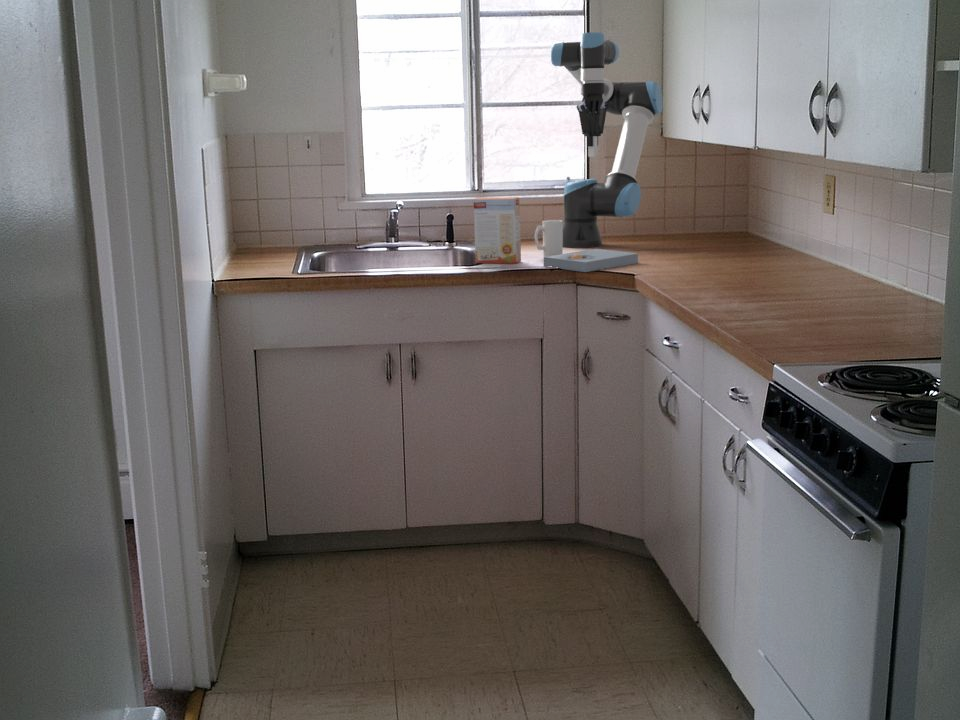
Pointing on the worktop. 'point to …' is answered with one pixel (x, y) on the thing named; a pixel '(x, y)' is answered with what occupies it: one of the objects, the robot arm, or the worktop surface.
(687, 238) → the worktop surface
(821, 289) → the worktop surface
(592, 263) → the tray
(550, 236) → the mug
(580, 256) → the ball
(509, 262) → the cracker box
